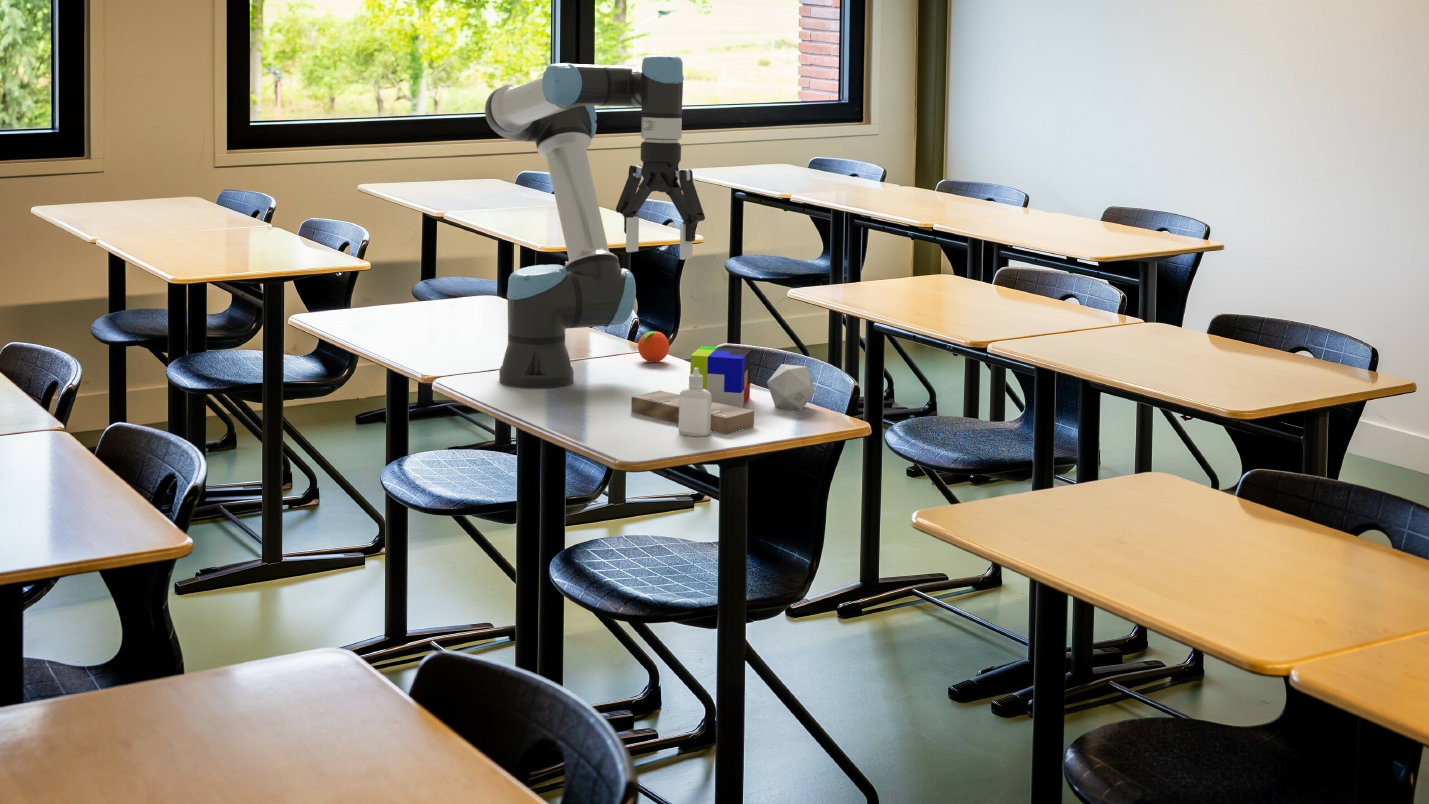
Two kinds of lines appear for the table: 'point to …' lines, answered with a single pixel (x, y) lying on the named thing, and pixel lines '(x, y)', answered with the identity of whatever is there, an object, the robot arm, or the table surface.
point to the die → (791, 386)
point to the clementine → (653, 346)
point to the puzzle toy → (724, 373)
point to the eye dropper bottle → (695, 408)
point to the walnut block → (668, 409)
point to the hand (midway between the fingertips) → (658, 255)
